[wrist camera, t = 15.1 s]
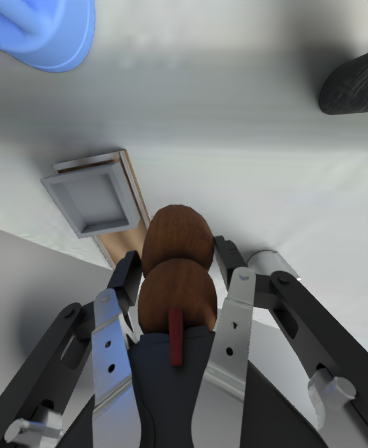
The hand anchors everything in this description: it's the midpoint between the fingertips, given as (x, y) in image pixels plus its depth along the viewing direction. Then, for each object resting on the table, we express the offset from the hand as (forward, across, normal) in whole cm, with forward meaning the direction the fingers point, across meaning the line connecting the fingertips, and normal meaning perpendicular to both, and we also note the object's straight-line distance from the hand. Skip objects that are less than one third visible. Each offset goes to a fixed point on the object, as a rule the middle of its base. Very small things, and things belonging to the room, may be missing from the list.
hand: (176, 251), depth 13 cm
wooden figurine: (+5, 0, 0) cm, 5 cm away
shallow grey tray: (+22, +15, 0) cm, 27 cm away
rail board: (+23, +15, +8) cm, 29 cm away
